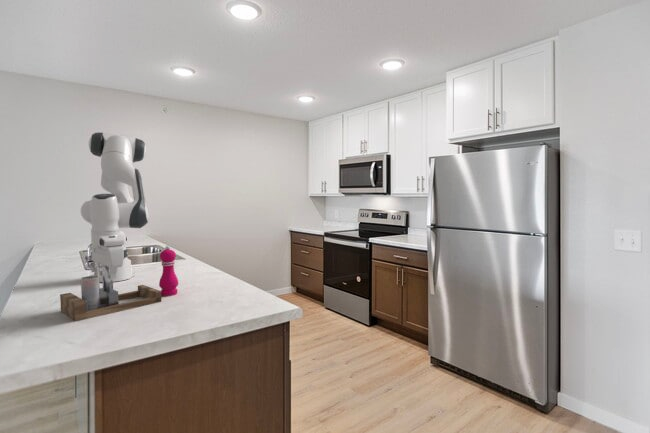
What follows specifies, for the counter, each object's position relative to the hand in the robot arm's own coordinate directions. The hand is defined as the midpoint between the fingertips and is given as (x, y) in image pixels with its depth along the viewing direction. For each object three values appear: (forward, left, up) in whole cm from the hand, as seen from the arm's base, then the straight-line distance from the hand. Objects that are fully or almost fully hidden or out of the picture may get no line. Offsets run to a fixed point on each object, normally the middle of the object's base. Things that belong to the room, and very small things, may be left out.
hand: (107, 277), depth 130 cm
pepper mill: (0, +23, -11) cm, 25 cm away
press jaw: (0, 0, -11) cm, 11 cm away
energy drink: (0, -5, -11) cm, 13 cm away
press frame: (0, +2, -11) cm, 11 cm away
